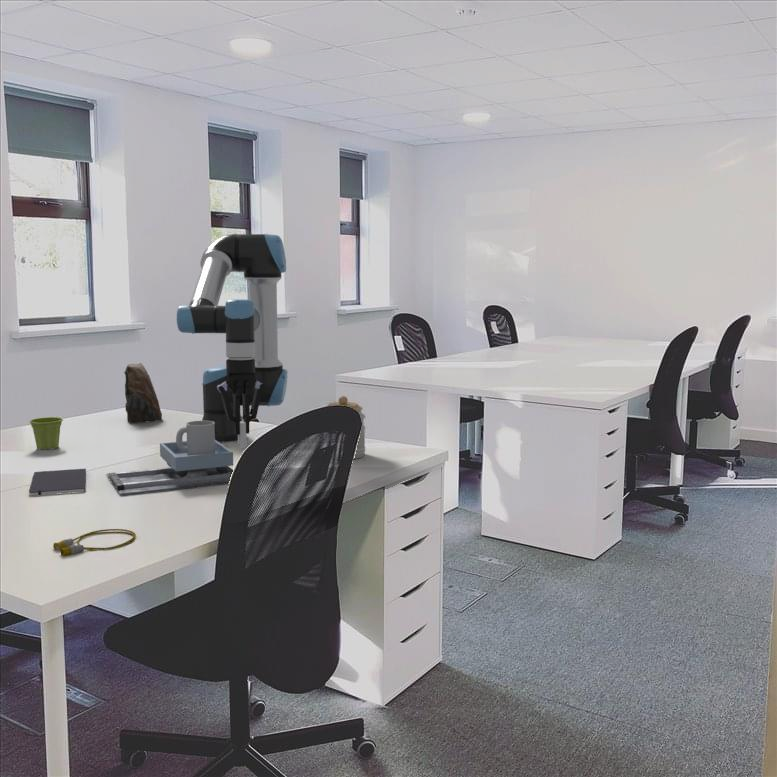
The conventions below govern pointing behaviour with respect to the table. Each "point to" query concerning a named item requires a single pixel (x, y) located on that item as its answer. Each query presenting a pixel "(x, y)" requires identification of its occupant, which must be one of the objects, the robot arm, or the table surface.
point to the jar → (361, 442)
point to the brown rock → (140, 395)
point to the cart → (195, 458)
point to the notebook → (58, 482)
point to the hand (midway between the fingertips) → (242, 446)
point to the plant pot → (46, 432)
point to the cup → (197, 438)
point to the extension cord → (69, 550)
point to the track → (166, 480)
